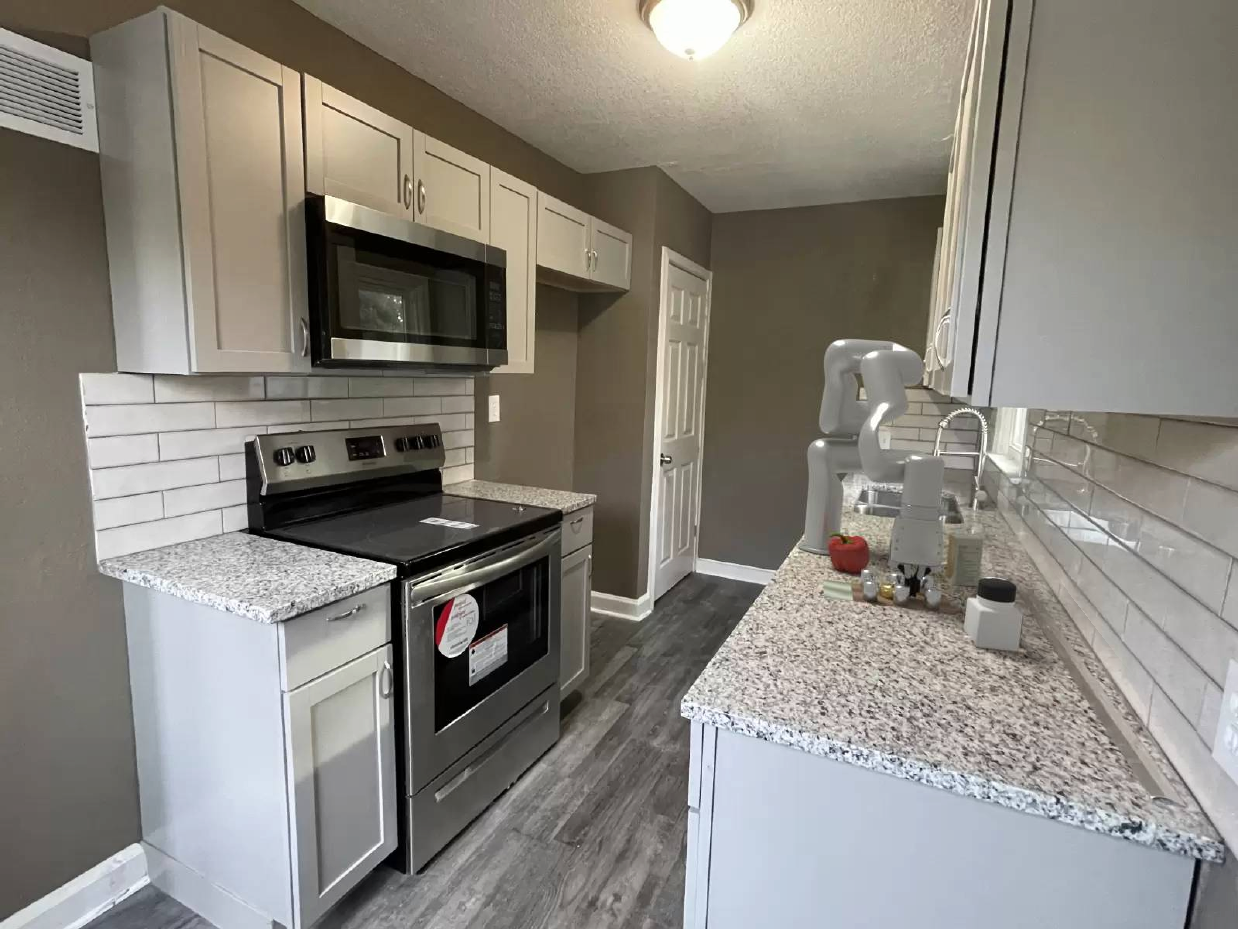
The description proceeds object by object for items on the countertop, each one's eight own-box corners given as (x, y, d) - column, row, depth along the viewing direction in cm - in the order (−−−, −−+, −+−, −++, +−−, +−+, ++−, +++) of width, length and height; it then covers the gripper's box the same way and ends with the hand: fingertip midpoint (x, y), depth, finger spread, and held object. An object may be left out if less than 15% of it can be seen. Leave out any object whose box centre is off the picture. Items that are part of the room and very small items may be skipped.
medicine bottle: (1019, 652, 112) (1027, 588, 110) (975, 647, 113) (983, 584, 112) (1003, 637, 119) (1011, 576, 117) (962, 632, 120) (969, 572, 119)
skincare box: (970, 583, 151) (976, 534, 150) (979, 589, 147) (985, 539, 146) (943, 581, 152) (948, 532, 150) (950, 587, 148) (956, 537, 146)
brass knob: (878, 592, 140) (879, 581, 140) (900, 594, 139) (901, 583, 138) (880, 598, 136) (881, 587, 135) (903, 601, 134) (904, 590, 134)
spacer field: (859, 584, 145) (861, 567, 144) (930, 593, 140) (932, 576, 140) (863, 601, 133) (864, 583, 133) (940, 611, 129) (942, 593, 128)
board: (823, 582, 148) (823, 579, 148) (944, 598, 140) (945, 594, 140) (823, 600, 135) (823, 596, 135) (956, 618, 128) (957, 614, 128)
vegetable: (834, 578, 152) (838, 538, 150) (816, 565, 162) (819, 527, 160) (877, 578, 153) (881, 538, 152) (855, 565, 163) (859, 528, 162)
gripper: (954, 512, 135) (945, 594, 137) (880, 506, 139) (872, 585, 142) (962, 519, 128) (952, 605, 130) (883, 512, 132) (875, 595, 134)
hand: (910, 595), depth 136 cm, fingers closed
